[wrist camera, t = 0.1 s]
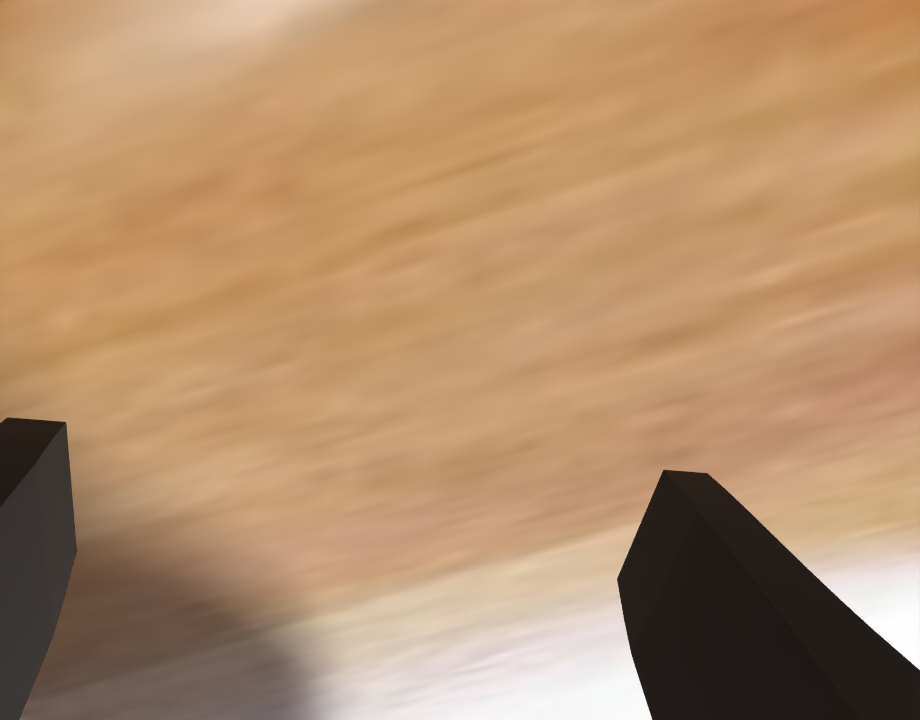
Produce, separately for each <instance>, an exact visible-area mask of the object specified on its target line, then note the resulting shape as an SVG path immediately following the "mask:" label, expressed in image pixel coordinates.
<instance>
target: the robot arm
mask: <svg viewBox="0 0 920 720" xmlns="http://www.w3.org/2000/svg"><path fill="white" fill-rule="evenodd" d="M76 552H77V548H76V536H75V524H74V512H73V500H72V487H71V475H70V463H69V451H68V438H67V426H66V422H57V421H45V420H32V419H20V418H6V419H5V420H4V421H2V422H1V423H0V720H19V718H20V716H21V713H22V711H23V708H24V706H25V704H26V701H27V699H28V696H29V694H30V691H31V689H32V686H33V684H34V682H35V679H36V677H37V674H38V672H39V669H40V667H41V664H42V662H43V660H44V657H45V655H46V652H47V650H48V647H49V645H50V642H51V640H52V637H53V635H54V631H55V628H56V625H57V621H58V618H59V614H60V611H61V607H62V604H63V600H64V597H65V593H66V589H67V585H68V582H69V578H70V574H71V570H72V567H73V563H74V559H75V555H76ZM617 581H618V587H619V592H620V598H621V604H622V610H623V615H624V621H625V626H626V631H627V635H628V640H629V645H630V650H631V654H632V657H633V661H634V664H635V667H636V670H637V674H638V677H639V680H640V683H641V686H642V689H643V692H644V695H645V698H646V701H647V704H648V707H649V711H650V714H651V717H652V720H920V670H919V669H918V668H916V667H915V666H914V665H913V664H912V663H911V662H910V661H908V660H907V659H906V658H905V657H904V656H903V655H902V654H900V653H899V652H898V651H897V650H896V649H895V648H893V647H892V646H891V645H890V644H889V643H888V642H887V641H885V640H884V639H883V638H882V637H881V636H880V635H879V634H877V633H876V632H875V631H874V630H873V629H872V628H871V627H870V626H868V625H867V624H866V623H865V622H864V621H863V620H862V619H861V618H860V617H859V616H857V615H856V614H855V613H854V612H853V611H852V610H851V609H850V608H849V607H848V606H847V605H845V604H844V603H843V602H842V601H841V600H840V599H839V598H838V597H837V596H836V595H835V594H834V593H833V592H832V591H830V590H829V589H828V588H827V587H826V586H825V585H824V584H823V583H822V582H821V581H820V580H819V579H818V578H817V577H816V576H815V575H814V574H813V573H812V572H811V571H809V570H808V569H807V568H806V567H805V566H804V565H803V564H802V563H801V562H800V561H799V560H798V559H797V558H796V557H795V556H794V555H793V554H792V553H791V552H790V551H789V550H788V549H787V548H786V547H785V546H784V545H783V544H782V543H781V542H780V541H779V540H778V539H777V538H775V537H774V536H773V535H772V534H771V533H770V532H769V531H768V530H767V529H766V528H765V527H764V526H763V525H762V524H761V523H760V522H759V521H758V520H757V519H756V518H755V517H754V516H753V515H752V514H751V513H750V512H749V511H748V510H747V509H746V508H745V507H744V506H743V505H742V504H740V503H739V502H738V501H737V500H736V499H735V498H734V497H733V496H732V495H731V494H730V493H729V492H728V491H727V490H726V489H725V488H723V487H722V486H721V485H720V484H719V483H718V482H717V481H716V480H714V479H713V478H712V477H711V476H710V475H709V474H707V473H697V472H685V471H672V470H663V472H662V475H661V477H660V479H659V482H658V484H657V486H656V489H655V491H654V493H653V496H652V498H651V500H650V503H649V505H648V508H647V510H646V512H645V515H644V517H643V519H642V522H641V524H640V526H639V529H638V531H637V533H636V536H635V538H634V540H633V543H632V545H631V548H630V550H629V552H628V555H627V557H626V559H625V562H624V564H623V566H622V569H621V571H620V573H619V576H618V578H617Z"/></svg>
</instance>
